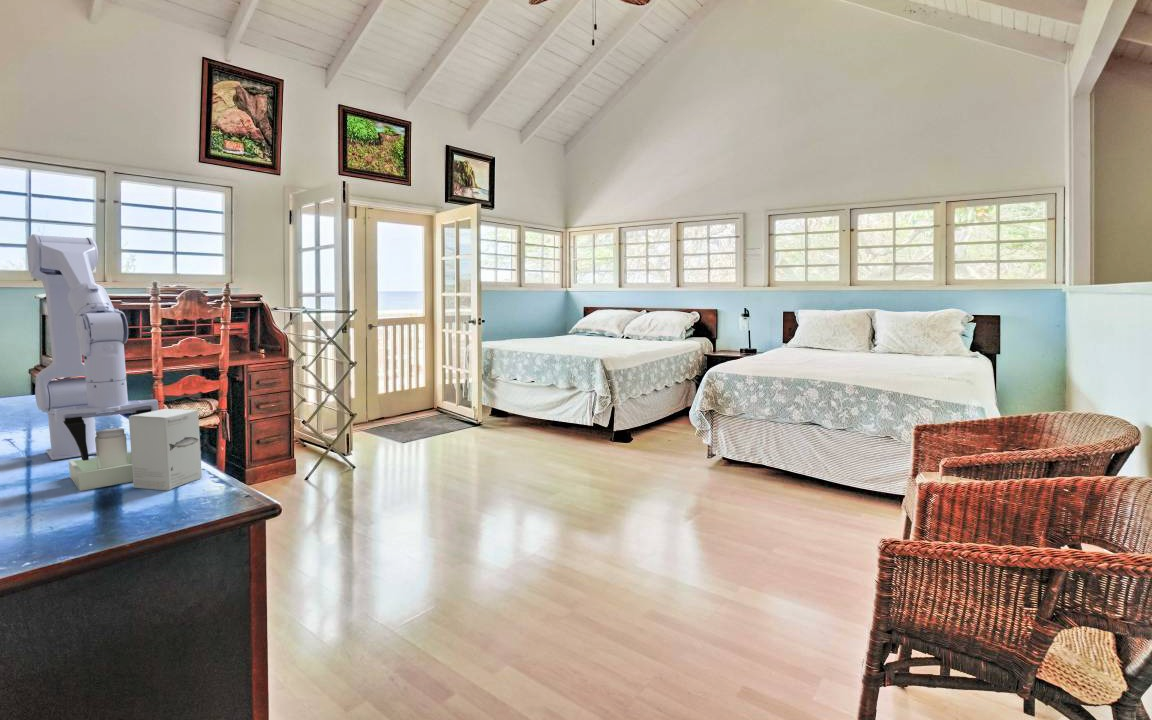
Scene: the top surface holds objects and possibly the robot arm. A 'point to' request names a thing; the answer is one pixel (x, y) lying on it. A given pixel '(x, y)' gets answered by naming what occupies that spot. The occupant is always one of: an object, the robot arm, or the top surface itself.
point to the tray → (99, 473)
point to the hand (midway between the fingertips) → (112, 455)
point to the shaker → (111, 448)
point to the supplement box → (165, 448)
